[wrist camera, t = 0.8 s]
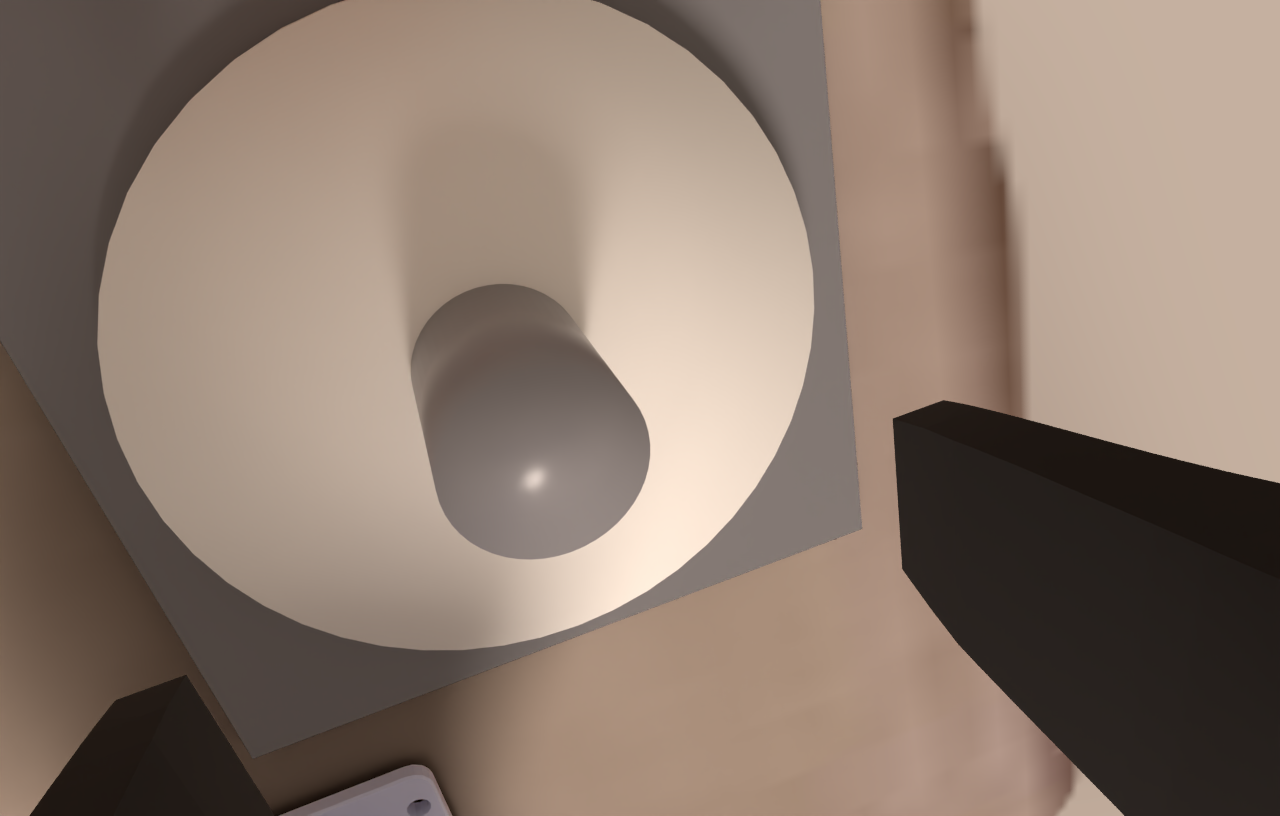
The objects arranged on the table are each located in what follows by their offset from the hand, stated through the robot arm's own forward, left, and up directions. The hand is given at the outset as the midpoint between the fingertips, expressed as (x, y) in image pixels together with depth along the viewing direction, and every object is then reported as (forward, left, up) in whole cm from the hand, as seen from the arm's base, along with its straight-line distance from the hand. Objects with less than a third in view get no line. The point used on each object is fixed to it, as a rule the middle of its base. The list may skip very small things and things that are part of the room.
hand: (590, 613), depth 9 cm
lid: (0, 0, -8) cm, 8 cm away
